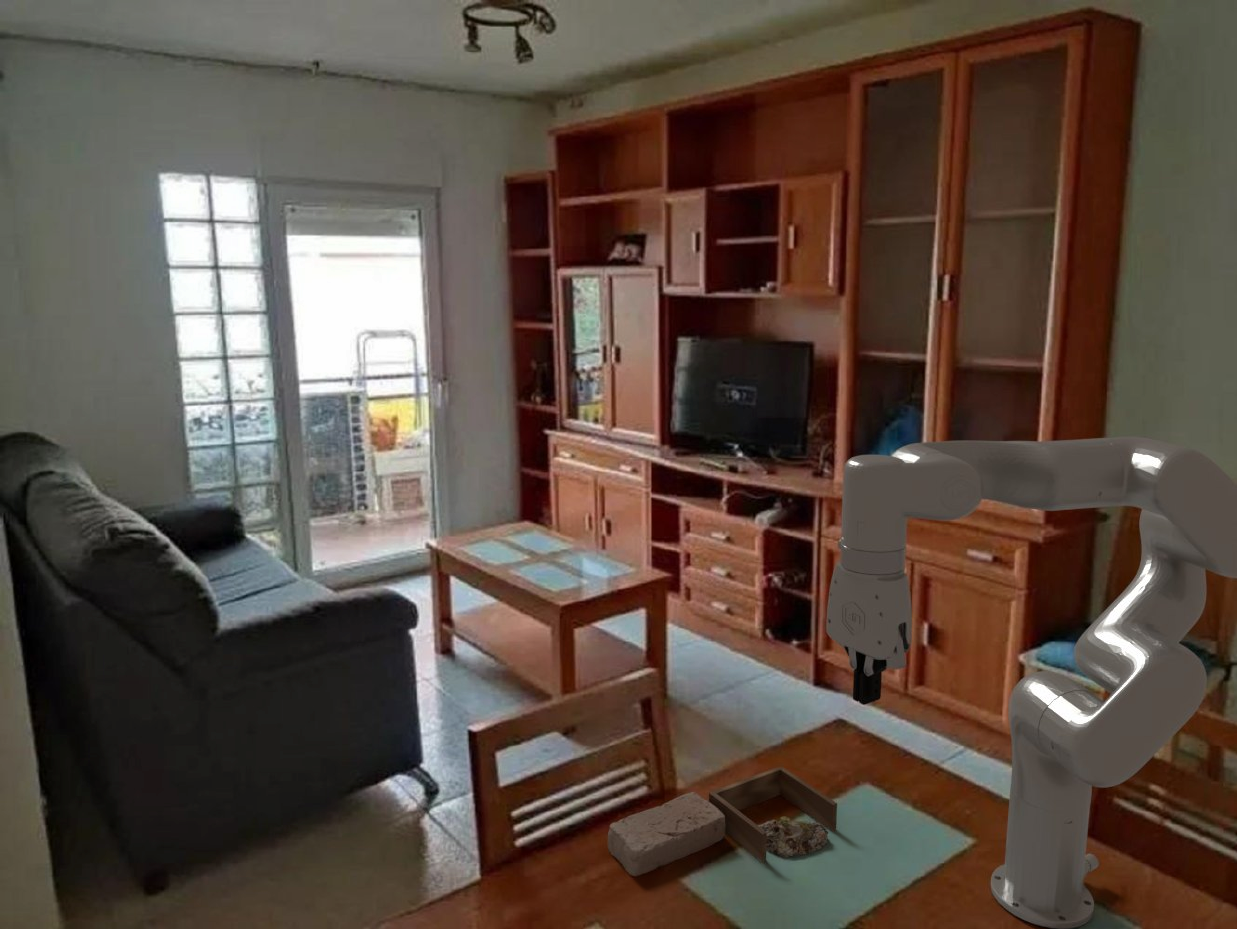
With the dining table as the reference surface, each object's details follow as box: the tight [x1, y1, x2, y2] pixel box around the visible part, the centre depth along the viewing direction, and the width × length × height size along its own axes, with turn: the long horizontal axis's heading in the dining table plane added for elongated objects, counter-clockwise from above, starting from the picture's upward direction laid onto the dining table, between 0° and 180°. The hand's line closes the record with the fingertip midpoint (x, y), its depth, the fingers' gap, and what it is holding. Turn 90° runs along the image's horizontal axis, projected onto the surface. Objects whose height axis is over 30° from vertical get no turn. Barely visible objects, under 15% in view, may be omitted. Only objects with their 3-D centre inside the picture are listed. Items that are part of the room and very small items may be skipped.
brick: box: [607, 791, 726, 877], centre depth 134 cm, size 17×8×5 cm, turn 121°
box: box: [708, 765, 838, 863], centre depth 139 cm, size 15×13×4 cm
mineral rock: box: [757, 815, 829, 858], centre depth 135 cm, size 11×4×8 cm
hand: (866, 699), depth 112 cm, fingers closed
